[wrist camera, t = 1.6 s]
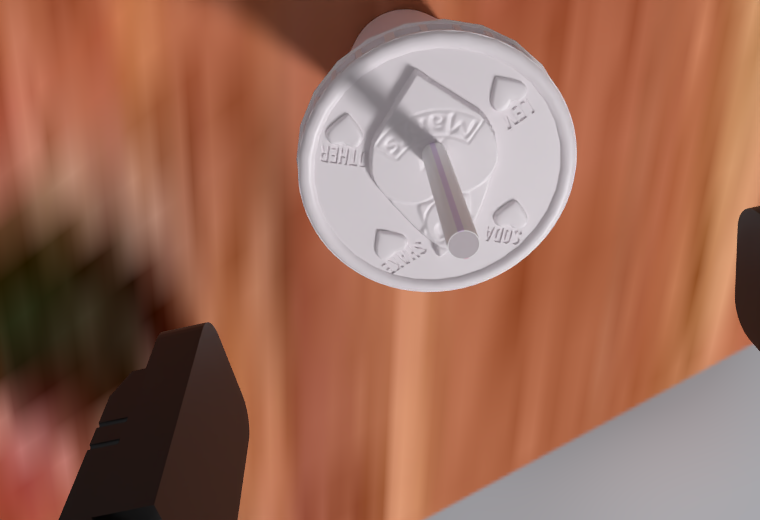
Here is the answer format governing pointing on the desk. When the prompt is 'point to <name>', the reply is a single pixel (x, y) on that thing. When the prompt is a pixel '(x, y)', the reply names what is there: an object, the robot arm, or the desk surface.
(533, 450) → the desk surface
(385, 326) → the desk surface
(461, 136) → the smoothie
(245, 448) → the robot arm
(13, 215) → the desk surface
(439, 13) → the desk surface
